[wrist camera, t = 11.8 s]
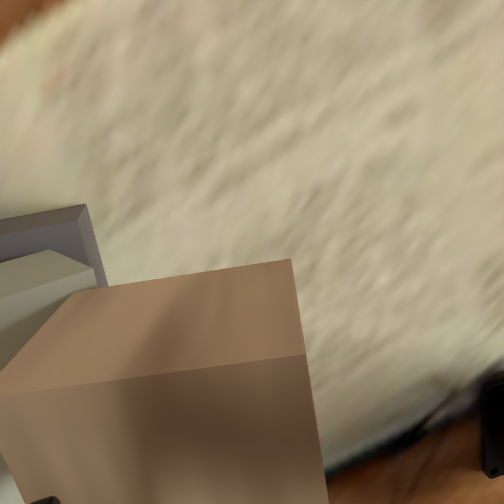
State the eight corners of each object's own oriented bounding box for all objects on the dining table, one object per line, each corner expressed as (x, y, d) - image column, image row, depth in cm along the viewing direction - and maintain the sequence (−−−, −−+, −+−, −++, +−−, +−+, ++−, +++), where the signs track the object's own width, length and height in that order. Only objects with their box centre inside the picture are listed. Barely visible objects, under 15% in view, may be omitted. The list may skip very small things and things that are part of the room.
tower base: (132, 370, 21) (131, 417, 18) (-56, 419, 20) (-94, 479, 16) (87, 202, 19) (76, 220, 15) (-133, 243, 17) (-196, 273, 14)
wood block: (117, 423, 14) (312, 398, 14) (55, 569, 10) (334, 541, 9) (73, 292, 13) (290, 258, 12) (-24, 398, 8) (305, 354, 8)
